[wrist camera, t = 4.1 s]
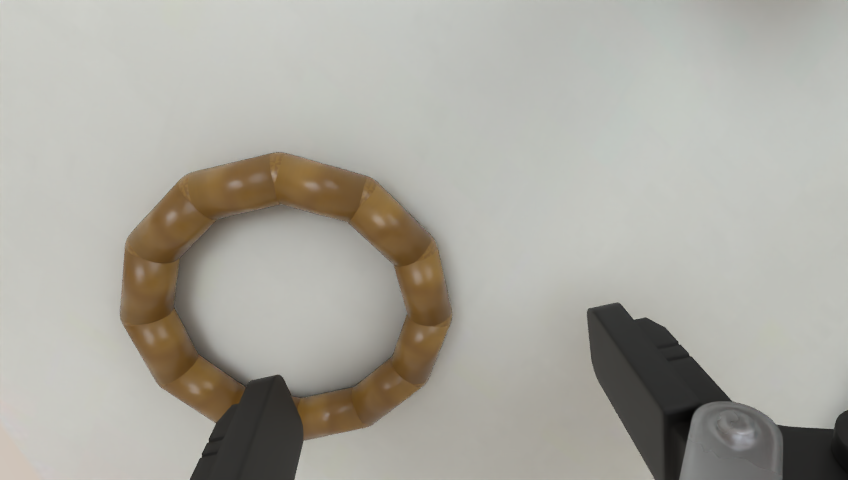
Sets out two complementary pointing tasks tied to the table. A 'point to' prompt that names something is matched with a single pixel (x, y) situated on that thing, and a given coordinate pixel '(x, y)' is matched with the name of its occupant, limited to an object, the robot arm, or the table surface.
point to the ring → (306, 190)
